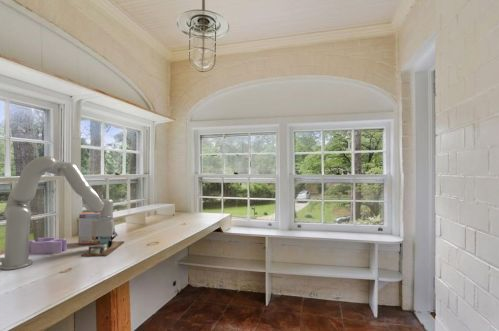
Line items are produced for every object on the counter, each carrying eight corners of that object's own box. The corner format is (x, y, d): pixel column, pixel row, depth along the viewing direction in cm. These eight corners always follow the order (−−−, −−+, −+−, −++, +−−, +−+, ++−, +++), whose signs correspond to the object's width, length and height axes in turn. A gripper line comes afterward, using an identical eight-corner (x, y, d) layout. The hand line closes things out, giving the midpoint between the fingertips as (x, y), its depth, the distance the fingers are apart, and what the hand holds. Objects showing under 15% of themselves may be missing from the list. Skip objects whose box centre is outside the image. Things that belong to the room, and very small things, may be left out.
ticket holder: (81, 256, 153) (81, 247, 153) (102, 242, 181) (103, 235, 181) (106, 256, 155) (106, 247, 155) (124, 242, 183) (124, 235, 183)
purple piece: (71, 249, 167) (71, 238, 167) (55, 255, 154) (56, 243, 154) (41, 247, 168) (42, 236, 168) (23, 253, 156) (24, 242, 156)
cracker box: (103, 242, 182) (104, 212, 183) (98, 244, 176) (99, 213, 177) (83, 241, 182) (84, 211, 183) (77, 244, 176) (79, 213, 176)
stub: (99, 248, 166) (99, 238, 166) (102, 245, 171) (103, 236, 171) (107, 248, 166) (107, 238, 166) (110, 245, 171) (111, 236, 171)
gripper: (89, 219, 164) (88, 248, 164) (117, 219, 166) (116, 248, 166) (95, 217, 172) (94, 245, 171) (122, 217, 173) (121, 245, 173)
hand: (105, 246), depth 168 cm, fingers closed on stub, 5 cm apart
